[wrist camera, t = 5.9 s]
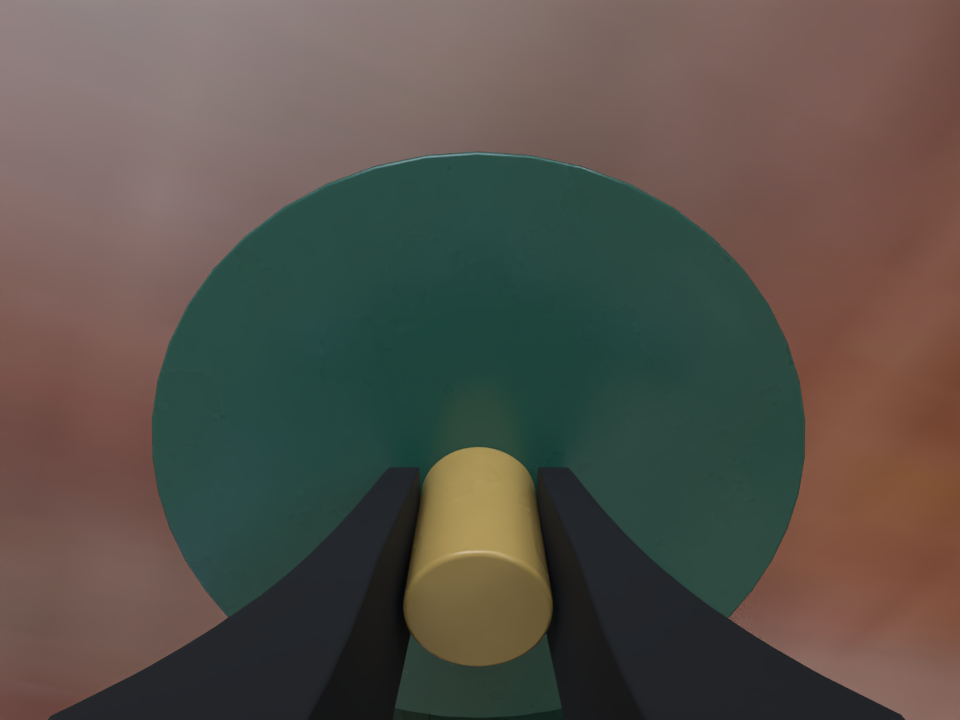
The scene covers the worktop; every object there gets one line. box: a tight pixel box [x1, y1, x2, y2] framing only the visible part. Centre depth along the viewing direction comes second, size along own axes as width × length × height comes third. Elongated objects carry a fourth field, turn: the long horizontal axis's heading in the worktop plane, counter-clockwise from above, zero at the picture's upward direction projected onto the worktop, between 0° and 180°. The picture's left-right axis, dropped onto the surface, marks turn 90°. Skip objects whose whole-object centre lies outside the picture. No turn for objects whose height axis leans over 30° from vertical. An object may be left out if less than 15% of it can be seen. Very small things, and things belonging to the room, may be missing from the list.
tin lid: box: [152, 152, 805, 718], centre depth 11 cm, size 14×14×4 cm
